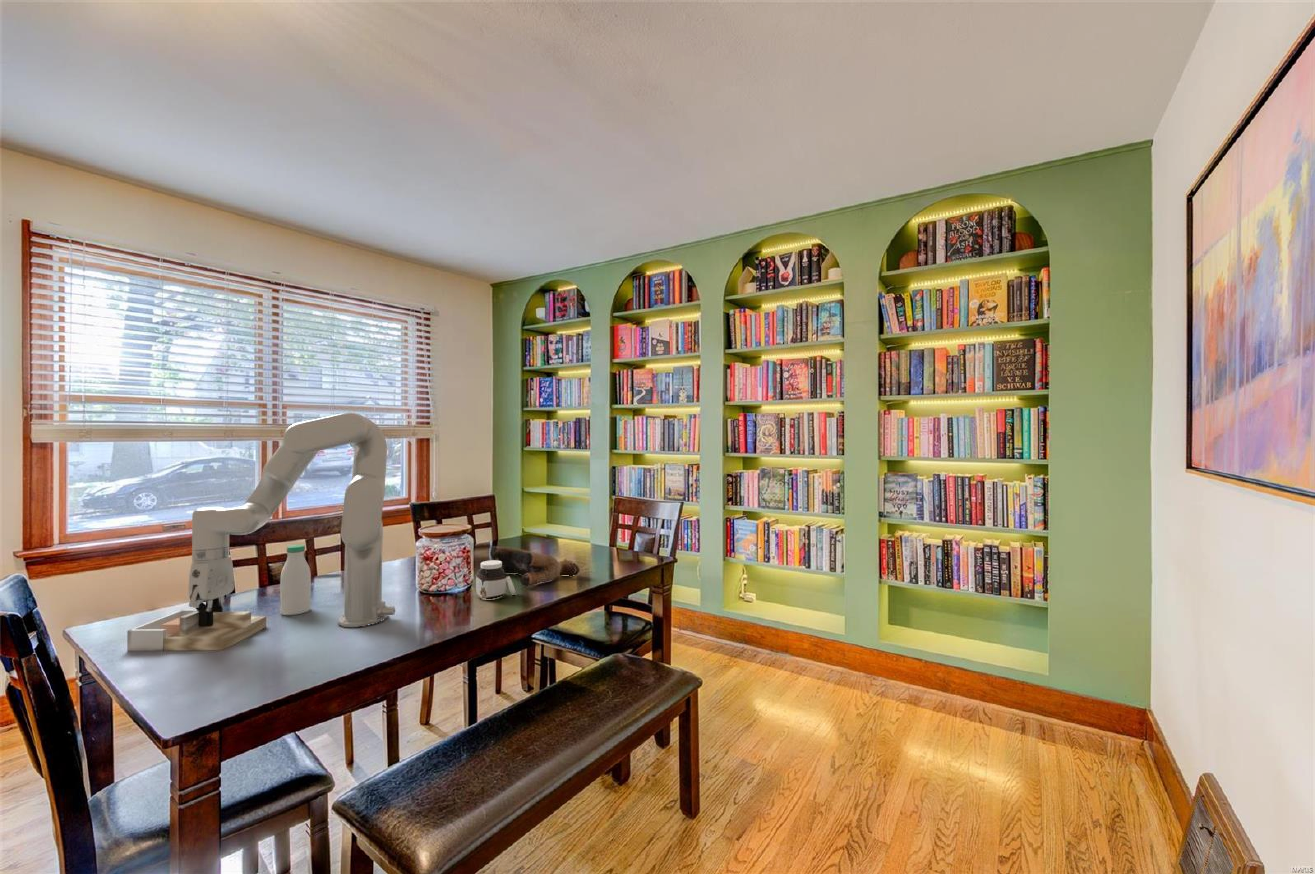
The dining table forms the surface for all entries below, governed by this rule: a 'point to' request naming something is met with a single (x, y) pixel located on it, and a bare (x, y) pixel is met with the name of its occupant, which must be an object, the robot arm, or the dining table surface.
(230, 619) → the scraper
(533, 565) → the brown teddy bear
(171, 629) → the tile
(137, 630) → the box
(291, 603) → the milk bottle
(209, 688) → the dining table surface
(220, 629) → the board
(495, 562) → the spread jar
